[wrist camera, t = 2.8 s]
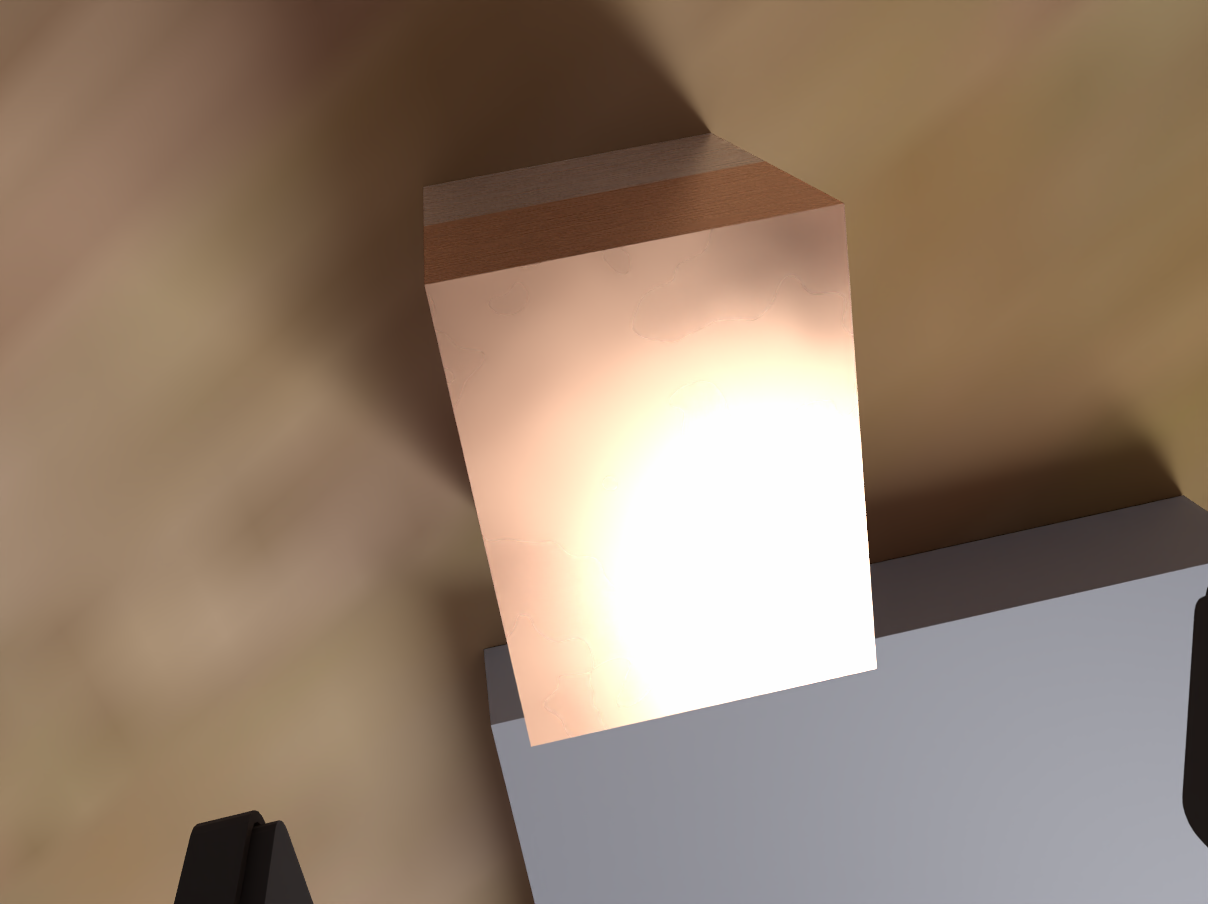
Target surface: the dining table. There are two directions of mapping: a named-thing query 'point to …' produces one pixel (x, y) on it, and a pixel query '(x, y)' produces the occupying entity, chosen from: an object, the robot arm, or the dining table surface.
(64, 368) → the dining table surface
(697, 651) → the block
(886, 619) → the stand
